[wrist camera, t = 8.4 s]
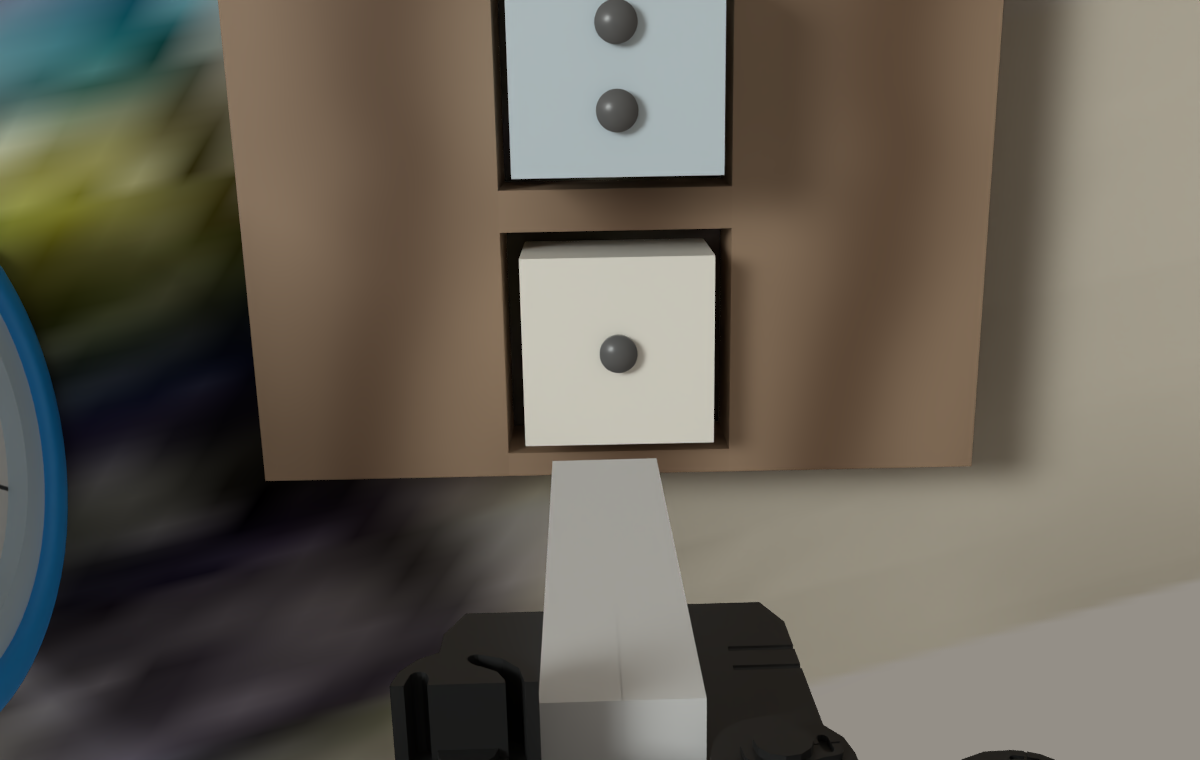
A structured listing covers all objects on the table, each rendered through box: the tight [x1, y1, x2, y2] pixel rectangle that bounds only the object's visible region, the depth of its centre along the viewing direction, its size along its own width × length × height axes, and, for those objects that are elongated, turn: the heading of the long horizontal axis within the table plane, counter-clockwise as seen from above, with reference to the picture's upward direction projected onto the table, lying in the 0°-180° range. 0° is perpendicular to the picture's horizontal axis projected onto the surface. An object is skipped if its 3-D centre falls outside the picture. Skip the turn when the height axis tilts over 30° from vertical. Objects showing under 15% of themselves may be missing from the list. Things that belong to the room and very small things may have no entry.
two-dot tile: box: [505, 0, 726, 179], centre depth 25 cm, size 5×5×3 cm
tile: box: [519, 238, 715, 446], centre depth 29 cm, size 5×5×3 cm
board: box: [218, 0, 1004, 481], centre depth 28 cm, size 18×20×2 cm
